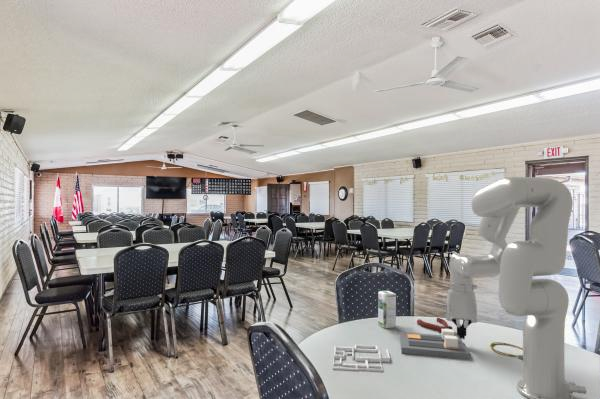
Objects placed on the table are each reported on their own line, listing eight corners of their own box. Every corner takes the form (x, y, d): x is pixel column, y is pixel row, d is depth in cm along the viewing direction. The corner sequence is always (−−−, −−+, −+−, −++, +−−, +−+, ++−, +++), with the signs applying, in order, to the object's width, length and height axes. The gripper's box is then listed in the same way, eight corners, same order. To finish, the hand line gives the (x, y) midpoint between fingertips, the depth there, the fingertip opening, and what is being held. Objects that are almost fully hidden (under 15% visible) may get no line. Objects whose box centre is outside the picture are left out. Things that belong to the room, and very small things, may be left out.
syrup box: (377, 324, 156) (377, 291, 157) (389, 323, 158) (389, 290, 158) (384, 328, 151) (384, 294, 151) (396, 327, 153) (396, 293, 153)
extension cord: (513, 364, 118) (513, 358, 118) (483, 345, 134) (483, 340, 134) (546, 362, 120) (546, 356, 120) (512, 344, 135) (512, 339, 135)
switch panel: (459, 342, 136) (459, 335, 136) (469, 359, 121) (469, 352, 121) (399, 336, 142) (399, 331, 142) (401, 353, 126) (401, 346, 126)
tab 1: (452, 337, 134) (452, 329, 134) (454, 340, 131) (454, 332, 131) (441, 336, 135) (441, 328, 135) (442, 339, 132) (442, 331, 132)
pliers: (445, 342, 137) (445, 335, 137) (415, 324, 158) (415, 318, 158) (472, 339, 140) (472, 332, 140) (439, 322, 161) (439, 316, 161)
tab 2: (456, 344, 127) (456, 336, 128) (457, 347, 125) (457, 339, 125) (444, 343, 128) (444, 335, 128) (445, 346, 125) (445, 338, 126)
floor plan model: (384, 343, 136) (384, 338, 136) (393, 374, 111) (393, 367, 112) (334, 341, 139) (334, 336, 139) (332, 371, 114) (332, 364, 114)
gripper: (480, 286, 134) (481, 335, 134) (438, 284, 138) (438, 332, 138) (486, 291, 127) (486, 343, 127) (441, 288, 131) (441, 339, 130)
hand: (461, 337), depth 132 cm, fingers closed
